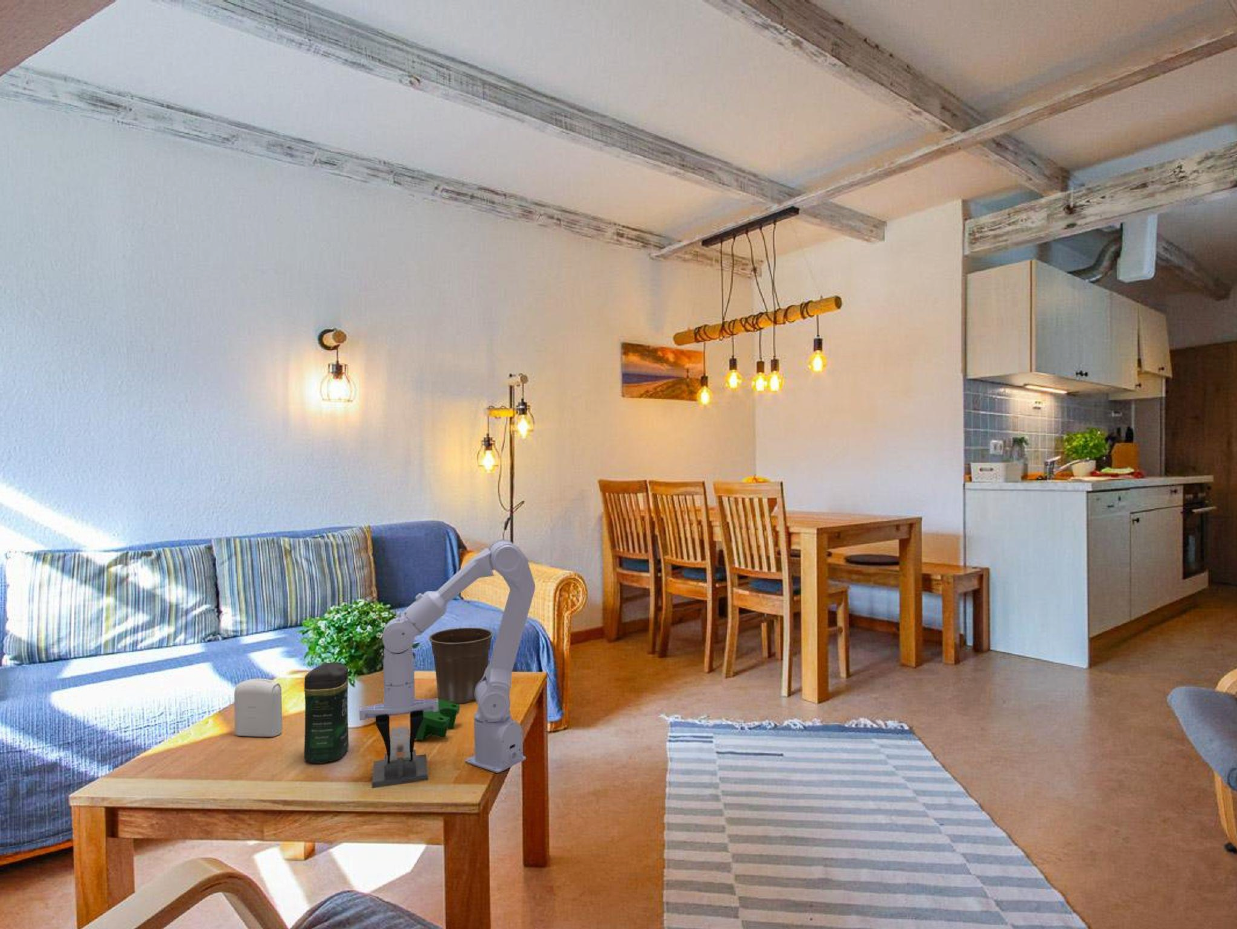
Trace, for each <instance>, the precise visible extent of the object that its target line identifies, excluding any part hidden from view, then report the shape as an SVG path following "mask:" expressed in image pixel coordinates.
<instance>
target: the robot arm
mask: <svg viewBox="0 0 1237 929" xmlns="http://www.w3.org/2000/svg"><path fill="white" fill-rule="evenodd" d="M493 571H495V572H497V573H498V574H499V575H500V576H501V577H502V579H503V580H504V581H505V584H507V586H508V588H509V592H508V595H507V600H506V602H505V607H504V609H503V614H502V616H501V621H500V623H499V627H498V631H497V634H496V637H495V643H494V645H493V649H492V652H491V656H490V660H489V661H488V666H487V668H486V670H485V673H484V676H483V678H482V679H481V681H480V682H479V683H478V684H477V686H476V688H475V693H474V694H475V699H476V701H475V702H476V703H477V709H476V712H474V714H473V716H474V717H473V724H474V725H473V730H474V733H473V734H474V735H473V736H474V755H473V756H470V757H468V758H465V763H466V764H470V765H473V766H476V767H478V768H481V769H485V770H488V771H490V772H493V773H496V774H500V773H502V772H503V771H506V770H507V769H509V768H511V767H514V766H515V765H517V764H519V763H521V762H523V761H525V760H526V758H527V757H526V756H525V755H524V747H523V746H524V744H523V743H524V742H523V739H524V738H523V733H524V732H523V727H522V726H521V724H520V723H519V722H518V721H516V720H515V719H514V718H513V717H512V715H511V710H510V709H511V698H510V692H511V687H512V677H513V676H512V673H513V670H514V666H515V662H516V659H517V654H518V651H519V648H520V643H521V642H522V639H523V634H524V630H525V627H526V622H527V620H528V616H529V612H530V609H531V604H532V600H533V599H534V598H533V597H534V595H535V591H536V583H535V580H534V577H533V574H532V571H531V568H530V563H529V560H528V558H527V556H526V555H525V553H524V552H523V551H522V549H521V548H520V547H519V546H517V545H516V544H514V543H513V542H512V541H510V540H507V539H497V540H496V541H494V542H492V543H491V545H489V547H486V548H484V549H483V550H481V551H479V553H478V554H476V555H475V556H474V557H473V558H471V559H470V560H469V561H468V562H466V564H465V565H464V566H462V568H461V569H459V570H458V571H457V572H456V573H455V574H454V575H453V576H451V578H449V579H448V580H447V581H446V582H445V583H444V584H443V585H442V586H440V587H439V589H437V590H435V591H434V590H433V591H430V590H429V591H428V590H427V591H425V592H424V593H423V594H422V593H421V592H420V593H418V594H417V595H416V596H415V601H413V602H412V603H411V604H410V605H409V606H408V607H407V608H405V609H404V610H403V611H398V612H397V613H396V615H395V617H396V618H392V619H390V620H389V621H388V622H387V624H385V626H384V629H383V632H382V644H383V646H384V648H383V656H384V657H383V662H382V663H383V702H381V703H377V704H372V705H368V706H361V707H359V721H366V720H367V719H373V718H375V725H376V728H377V730H378V731H379V734H380V735H381V738H382V741H383V742H384V746H385V751H386V753H387V755H391V750H390V734H391V731H390V727H391V726H390V717H391V716H399V715H406V714H407V715H409V740H410V752H413V750H415V749H414V748H415V742H416V740H417V739H416V735H417V732H418V730H419V727H420V725H421V723H422V720H423V712H426V711H433V712H436V711H438V699H439V698H425V699H424V698H423V699H422V698H415V696H416V695H415V692H416V691H415V688H416V687H415V656H414V655H413V645H414V643H415V640H416V639H415V638H416V637H418V636H421V635H423V634H424V632H426V631H427V630H428V629H429V628H431V627H432V626H433V625H434V624H435V623H436V622H437V621H439V620H440V619H441V617H443V616H444V615H445V614H446V612H447V605H448V603H450V602H451V601H452V600H453V599H455V598H456V597H458V595H459V594H461V593H462V592H463V591H465V590H466V589H467V588H468V587H470V586H471V584H473V583H474V582H476V581H477V580H478V579H480V578H489V577H495V574H494V572H493Z"/></svg>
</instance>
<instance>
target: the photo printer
mask: <svg viewBox="0 0 1237 929" xmlns="http://www.w3.org/2000/svg"><path fill="white" fill-rule="evenodd" d="M233 695H234V696H233V697H234V698H233V699H234V702H233V703H234V731H235V735H236V736H239V737H241V736H242V737H261V738H262V737H267V738H268V737H270V738H271V737H273V738H274V737H278V736H279V735H281V733H282V731H283V705H282V704H283V702H282V701H283V700H282V698H283V697H282V685H281V684H280V683H279V682H277V681H274V680H272V679H267V678H249V679H246V680H243V681H240V682H238V683H237V684H236V686H235V689H234V694H233Z"/></svg>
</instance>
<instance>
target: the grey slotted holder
mask: <svg viewBox="0 0 1237 929" xmlns="http://www.w3.org/2000/svg"><path fill="white" fill-rule="evenodd" d="M416 751H417V750H416V749H413V752H410V757H411V761H404V762H403V752H397V762H396V763H390V755H387V752H386V753H384V759H380V760H374V761H373V769H372V777H371V778H372V780H371V788H372V789H373V788H374V789H375V788H380V787H386V786H394V785H402V784H407V783H409V784H410V783H414V782H422V781H423V782H424V781H428V780H429V772H428V771H429V768H428V760H427V754H425V753H423V754H418V755H417V754H416Z"/></svg>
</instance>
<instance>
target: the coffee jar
mask: <svg viewBox="0 0 1237 929" xmlns="http://www.w3.org/2000/svg"><path fill="white" fill-rule="evenodd" d="M348 668H349V667H348V666H347V665H345V664H343V662H341V661H340V662H322V664H320V665H318V666H316V667H314V668H313V669H312V670H310V671H309V672H308V673H306V675H305V676H304V683H303V685H304V686H303V687H304V688H303V692H304V746H303V747H304V748H303V750H304V751H303V753H304V754H303V755H304V756H303V758H304V760H305V761H306V762H309V763H315V764H326V763H327V762H331V761H337V760H339V759H340V758H342V757H343V755H345V754H346V752H347V751H348V748H349V745H350V744H349V742H350V741H349V706H348V704H349V702H348V698H349V697H348V696H349V695H348V694H349V689H348V688H349V669H348Z"/></svg>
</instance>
